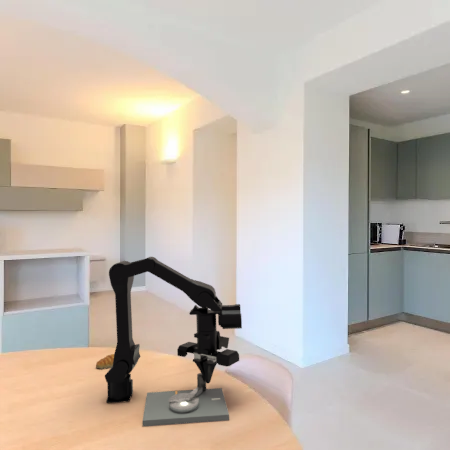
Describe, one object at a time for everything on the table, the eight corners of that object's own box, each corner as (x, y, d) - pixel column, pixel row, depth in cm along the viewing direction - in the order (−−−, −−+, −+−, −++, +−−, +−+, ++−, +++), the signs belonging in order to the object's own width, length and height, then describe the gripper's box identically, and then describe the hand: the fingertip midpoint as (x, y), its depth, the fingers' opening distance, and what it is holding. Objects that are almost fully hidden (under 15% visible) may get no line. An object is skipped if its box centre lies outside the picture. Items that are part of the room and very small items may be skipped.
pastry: (101, 372, 135) (101, 361, 135) (92, 367, 139) (92, 356, 139) (125, 364, 141) (125, 354, 141) (116, 360, 146) (116, 350, 146)
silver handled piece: (189, 415, 101) (188, 397, 101) (163, 408, 104) (162, 391, 104) (215, 391, 115) (215, 375, 114) (192, 386, 118) (192, 370, 118)
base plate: (142, 426, 99) (142, 419, 99) (147, 397, 115) (147, 391, 115) (229, 420, 102) (229, 413, 102) (221, 392, 117) (221, 387, 117)
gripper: (248, 326, 115) (250, 379, 115) (198, 319, 126) (200, 368, 126) (227, 336, 106) (228, 394, 106) (175, 327, 116) (177, 380, 116)
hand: (208, 382), depth 114 cm, fingers closed
